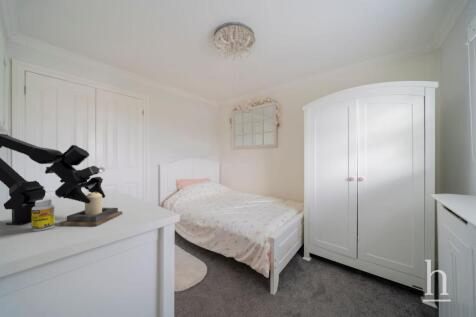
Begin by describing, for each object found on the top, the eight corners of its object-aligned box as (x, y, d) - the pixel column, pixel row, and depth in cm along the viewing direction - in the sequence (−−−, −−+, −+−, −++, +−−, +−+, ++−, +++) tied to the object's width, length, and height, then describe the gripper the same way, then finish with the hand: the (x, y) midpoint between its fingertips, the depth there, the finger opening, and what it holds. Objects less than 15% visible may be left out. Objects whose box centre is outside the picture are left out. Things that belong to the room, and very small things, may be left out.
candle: (97, 218, 71) (97, 193, 71) (81, 219, 69) (81, 194, 69) (104, 213, 76) (104, 191, 76) (90, 214, 75) (90, 191, 75)
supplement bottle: (27, 232, 60) (27, 203, 60) (37, 226, 65) (37, 199, 65) (49, 230, 62) (49, 201, 62) (57, 224, 67) (57, 198, 67)
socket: (60, 225, 66) (60, 217, 66) (92, 213, 80) (92, 206, 80) (96, 226, 66) (96, 217, 66) (122, 214, 80) (122, 207, 80)
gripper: (64, 160, 63) (97, 190, 64) (98, 159, 81) (123, 182, 83) (39, 182, 62) (73, 212, 63) (79, 176, 80) (105, 199, 82)
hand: (97, 199), depth 73 cm, fingers open, 9 cm apart
